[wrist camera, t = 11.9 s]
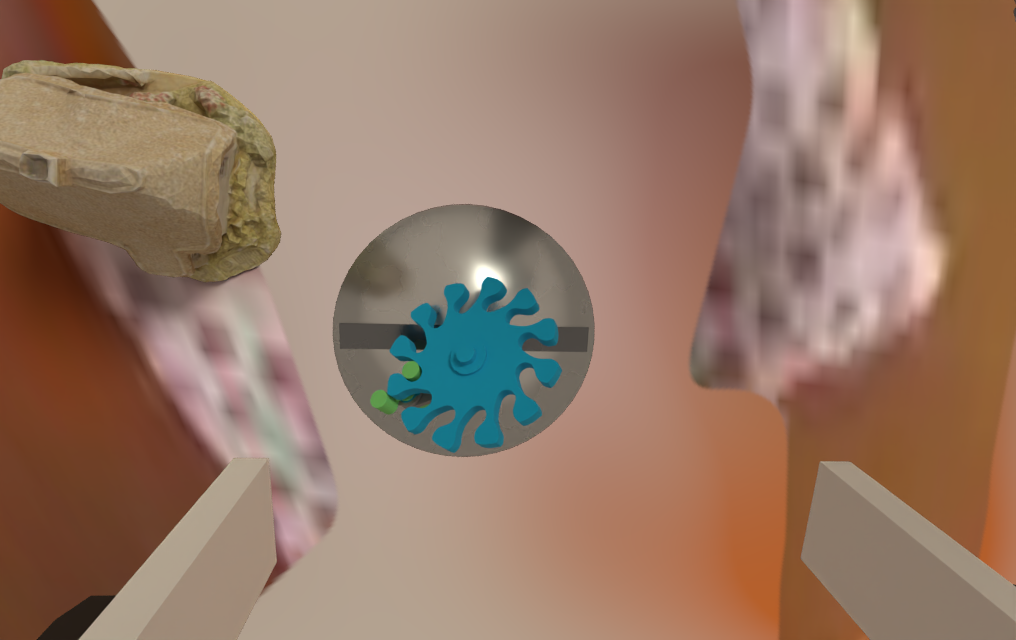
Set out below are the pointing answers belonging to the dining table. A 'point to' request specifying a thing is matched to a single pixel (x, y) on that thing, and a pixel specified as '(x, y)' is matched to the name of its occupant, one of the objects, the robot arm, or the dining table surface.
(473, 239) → the hub plate
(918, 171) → the dining table surface
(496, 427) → the gear
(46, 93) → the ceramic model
